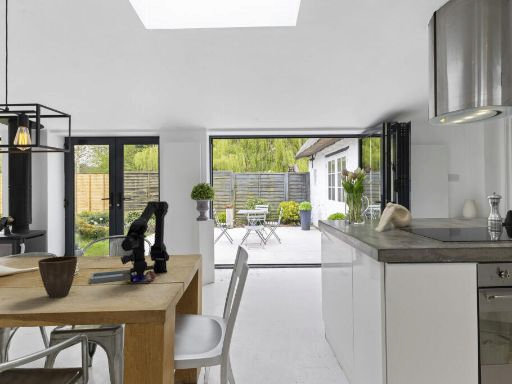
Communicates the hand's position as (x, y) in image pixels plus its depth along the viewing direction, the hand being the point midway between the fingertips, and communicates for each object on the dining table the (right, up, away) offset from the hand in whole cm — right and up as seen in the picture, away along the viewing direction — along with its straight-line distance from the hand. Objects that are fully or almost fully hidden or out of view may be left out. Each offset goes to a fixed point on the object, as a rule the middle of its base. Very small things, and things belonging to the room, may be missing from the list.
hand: (139, 279), depth 167 cm
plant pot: (-28, -2, -20) cm, 35 cm away
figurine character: (0, -2, 0) cm, 2 cm away
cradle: (-16, -2, +8) cm, 18 cm away
